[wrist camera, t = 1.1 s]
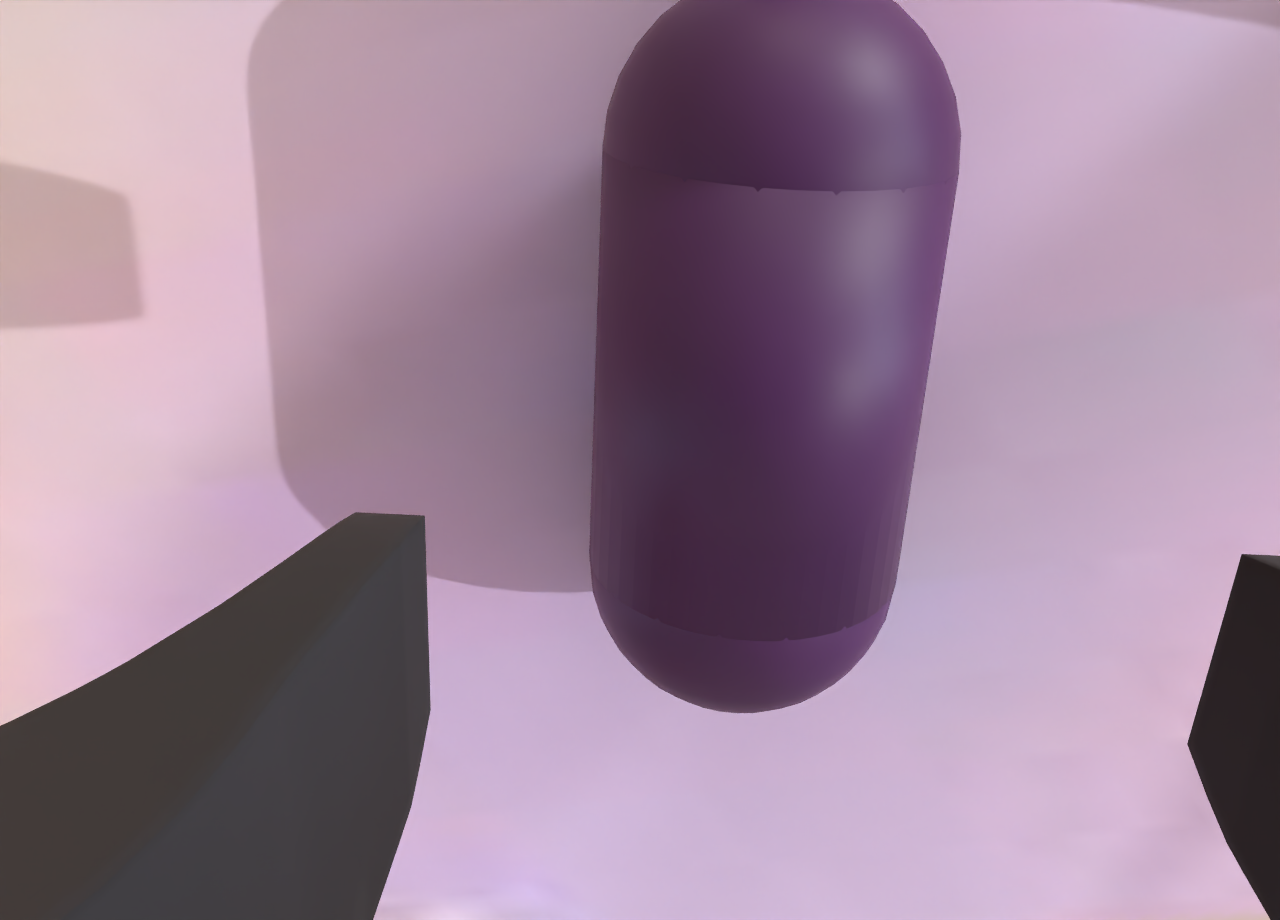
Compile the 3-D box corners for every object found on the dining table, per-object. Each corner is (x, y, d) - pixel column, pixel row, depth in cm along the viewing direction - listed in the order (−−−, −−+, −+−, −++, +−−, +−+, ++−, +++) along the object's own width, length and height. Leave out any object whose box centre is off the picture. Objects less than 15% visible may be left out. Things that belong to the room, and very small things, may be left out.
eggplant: (852, 615, 21) (900, 786, 17) (592, 602, 21) (576, 771, 17) (956, -136, 16) (1060, -156, 12) (618, -155, 16) (605, -179, 12)
